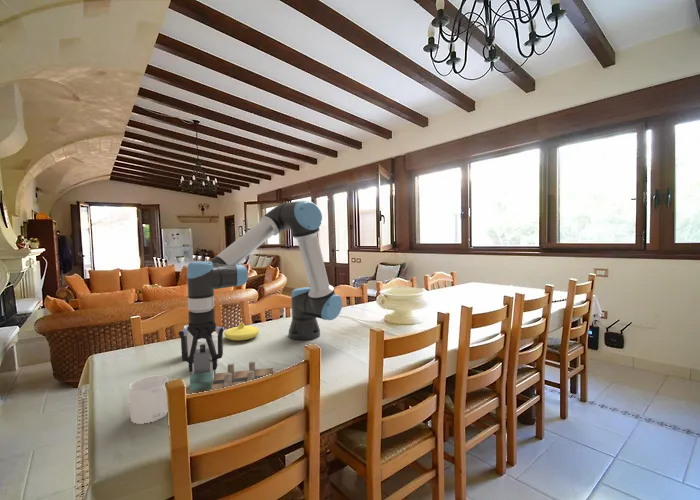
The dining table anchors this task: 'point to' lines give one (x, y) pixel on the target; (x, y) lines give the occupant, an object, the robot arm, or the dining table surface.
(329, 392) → the dining table surface
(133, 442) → the dining table surface
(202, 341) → the cup
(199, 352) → the block
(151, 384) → the mug
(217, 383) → the board
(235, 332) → the yellow pattypan squash
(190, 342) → the mug
